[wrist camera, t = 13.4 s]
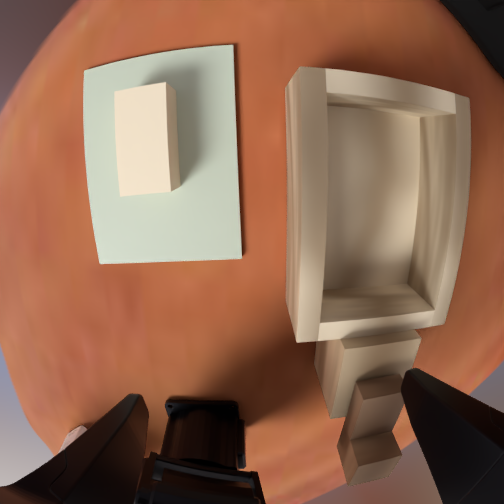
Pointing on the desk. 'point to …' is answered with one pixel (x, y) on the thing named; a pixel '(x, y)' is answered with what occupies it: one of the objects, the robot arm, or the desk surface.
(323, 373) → the beige piece
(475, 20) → the desk fan
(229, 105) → the lid
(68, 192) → the desk surface
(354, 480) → the brown l-shaped block
